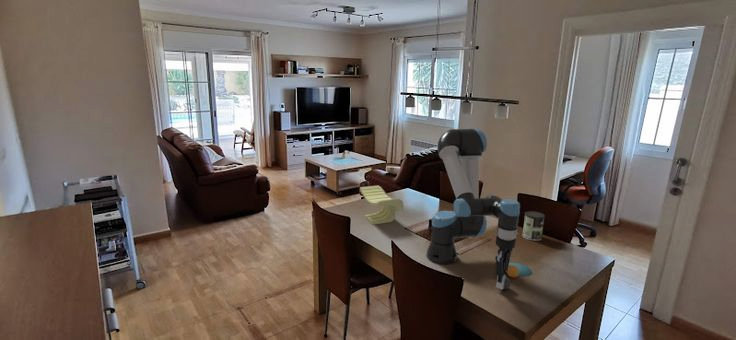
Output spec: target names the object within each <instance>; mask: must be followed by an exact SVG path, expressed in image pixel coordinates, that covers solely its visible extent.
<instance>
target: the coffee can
mask: <svg viewBox="0 0 736 340" xmlns="http://www.w3.org/2000/svg"><path fill="white" fill-rule="evenodd" d="M545 217H546V216H545V214H544V213H542V212H539V211H533V210H529V211H525V212H524V221H523V229H522V237H523V238H524V239H526V240H529V241H534V242H536V241H537V242H539V241H542V237H543V230H544V223H545V222H544V221H545Z"/></svg>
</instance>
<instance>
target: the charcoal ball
mask: <svg viewBox="0 0 736 340" xmlns="http://www.w3.org/2000/svg"><path fill="white" fill-rule="evenodd" d="M510 286H511V280H510V278H508V277H507V276H506V275H505V281H504V288H503V290H507V289H509V288H510Z"/></svg>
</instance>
